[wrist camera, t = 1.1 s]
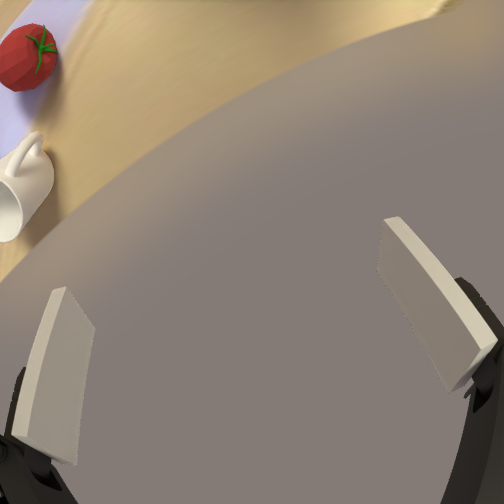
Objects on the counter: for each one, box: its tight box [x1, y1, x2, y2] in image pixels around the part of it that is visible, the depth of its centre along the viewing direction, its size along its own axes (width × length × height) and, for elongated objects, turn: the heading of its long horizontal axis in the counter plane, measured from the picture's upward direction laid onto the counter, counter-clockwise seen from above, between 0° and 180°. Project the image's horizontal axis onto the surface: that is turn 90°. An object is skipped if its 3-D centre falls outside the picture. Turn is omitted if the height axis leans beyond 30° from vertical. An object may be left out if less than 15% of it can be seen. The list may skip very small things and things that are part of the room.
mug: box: [0, 131, 54, 243], centre depth 28 cm, size 12×8×10 cm
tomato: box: [0, 23, 57, 92], centre depth 21 cm, size 8×8×8 cm
